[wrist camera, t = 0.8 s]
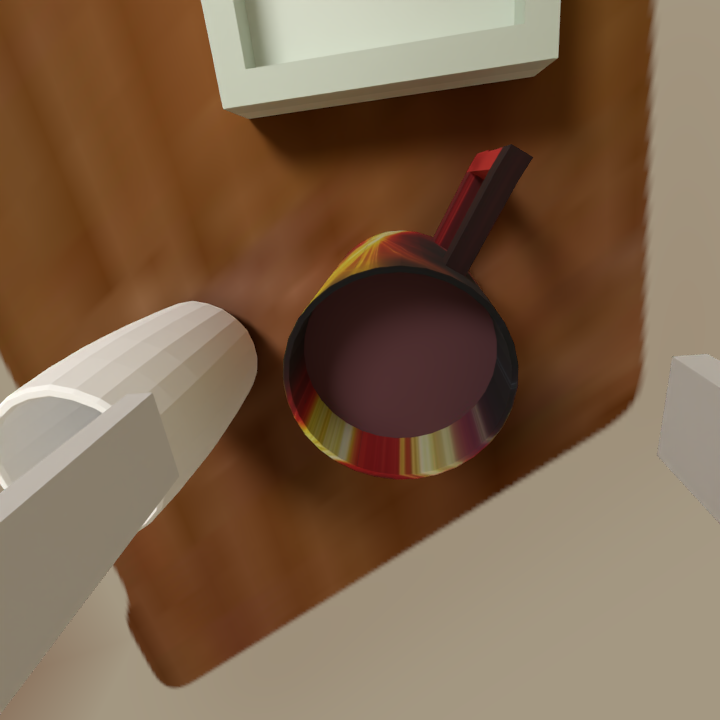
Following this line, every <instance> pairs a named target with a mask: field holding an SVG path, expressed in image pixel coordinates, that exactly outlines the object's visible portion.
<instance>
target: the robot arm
mask: <svg viewBox="0 0 720 720" xmlns="http://www.w3.org/2000/svg"><path fill="white" fill-rule="evenodd" d="M657 456H658V457H659V458H660V459H661V460H662V462H663V463H665V465H666V466H667V467H668V468H669V469H670V470H671V471H672V472H673V473H674V475H675V476H676V477H677V478H678V479H679V480H680V481H681V482H682V483H683V484H684V485H685V487H686V488H687V489H688V490H689V491H690V492H691V493H692V494H693V495H694V496H695V497H696V498H697V499H698V501H699V502H700V503H701V504H702V505H703V506H704V507H705V508H706V509H707V510H708V512H709V513H710V514H711V515H712V516H713V517H714V518H715V519H716V520H717V521H718V522H719V523H720V361H719V360H718V359H716V358H714V357H712V356H711V355H709V354H700V355H686V356H673V357H672V362H671V368H670V375H669V381H668V388H667V394H666V400H665V408H664V414H663V420H662V426H661V433H660V439H659V445H658V452H657ZM178 478H179V473H178V470H177V467H176V463H175V460H174V457H173V454H172V451H171V448H170V445H169V442H168V439H167V436H166V433H165V429H164V426H163V423H162V420H161V417H160V414H159V411H158V408H157V405H156V402H155V398H154V395H153V393H140V394H127V395H125V396H124V397H123V398H121V399H120V400H119V401H118V402H116V403H115V404H114V405H112V406H111V407H110V408H109V409H107V410H106V411H105V412H103V413H102V414H101V415H100V416H98V417H97V418H96V419H94V420H93V421H92V422H91V423H89V424H88V425H87V426H86V427H84V428H83V429H82V430H80V431H79V432H78V433H77V434H75V435H74V436H73V437H71V438H70V439H69V440H68V441H66V442H65V443H64V444H62V445H61V446H60V447H59V448H57V449H56V450H55V451H53V452H52V453H51V454H50V455H48V456H47V457H46V458H44V459H43V460H42V461H41V462H39V463H38V464H37V465H35V466H34V467H33V468H32V469H30V470H29V471H28V472H26V473H25V474H24V475H23V476H21V477H20V478H19V479H17V480H16V481H15V482H14V483H12V484H11V485H10V486H8V487H7V488H6V489H5V490H3V491H2V492H1V493H0V714H1V713H2V711H3V710H4V709H5V707H6V706H7V705H8V703H9V702H10V701H11V700H12V698H13V697H14V696H15V694H16V693H17V691H18V690H19V689H20V687H21V686H22V685H23V684H24V682H25V681H26V680H27V678H28V677H29V675H30V674H31V673H32V672H33V670H34V669H35V668H36V666H37V665H38V664H39V662H40V661H41V660H42V658H43V657H44V656H45V654H46V653H47V652H48V650H49V649H50V648H51V646H52V645H53V644H54V642H55V641H56V640H57V638H58V637H59V636H60V634H61V633H62V632H63V630H64V629H65V628H66V626H67V625H68V624H69V622H70V621H71V620H72V618H73V617H74V616H75V614H76V613H77V612H78V610H79V609H80V608H81V606H82V605H83V604H84V603H85V601H86V600H87V599H88V597H89V596H90V595H91V593H92V592H93V591H94V589H95V588H96V587H97V585H98V584H99V583H100V581H101V580H102V579H103V577H104V576H105V575H106V573H107V572H108V571H109V569H110V568H111V567H112V565H113V564H114V563H115V561H116V560H117V559H118V557H119V556H120V555H121V553H122V552H123V551H124V549H125V548H126V547H127V545H128V544H129V543H130V541H131V540H132V539H133V537H134V536H135V535H136V533H137V532H138V531H139V529H140V528H141V527H142V525H143V524H144V523H145V521H146V520H147V519H148V517H149V516H150V515H151V513H152V512H153V511H154V510H155V508H156V507H157V506H158V504H159V503H160V502H161V500H162V499H163V498H164V496H165V495H166V494H167V492H168V491H169V490H170V488H171V487H172V486H173V484H174V483H175V482H176V480H177V479H178Z"/></svg>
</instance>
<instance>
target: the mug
mask: <svg viewBox="0 0 720 720" xmlns="http://www.w3.org/2000/svg"><path fill="white" fill-rule="evenodd" d="M532 158H533V157H532V156H530V155H529V154H527V153H525V152H524V151H522V150H520V149H519V148H517V147H515V146H514V145H512V144H511V145H508V146H505V147H501V148H498V149H495V150H492V151H490V150H487V151H484V152H481V153H478V154H477V155H476V156H475V158H474V160H473V161H472V163H471V165H470V167H469V168H468V170H467V172H466V174H465V176H464V178H463V180H462V182H461V184H460V186H459V188H458V190H457V192H456V194H455V196H454V198H453V200H452V202H451V204H450V206H449V208H448V210H447V212H446V214H445V216H444V218H443V220H442V221H441V223H440V225H439V227H438V229H437V231H436V233H435V235H434V237H431V236H428V235H425V234H421V233H418V232H411V231H392V232H385V233H382V234H379V235H376V236H372V237H370V238H369V239H367V240H365V241H363V242H361V243H359V244H358V245H357V246H356V247H355V248H353V249H352V250H351V251H350V252H349V253H348V254H347V255H346V256H345V257H344V259H343V260H342V261H341V263H340V264H339V265H338V266H337V268H336V269H335V270H334V272H333V273H332V274H331V276H330V277H329V278H328V280H327V281H326V282H325V284H324V285H323V286H322V288H321V289H320V290H319V292H318V293H317V294H316V296H315V297H314V298H313V300H312V301H311V302H310V304H309V305H308V306H307V308H306V309H305V310H304V312H303V313H302V314H301V316H300V317H299V318H298V320H297V322H296V324H295V326H294V328H293V330H292V332H291V334H290V336H289V338H288V342H287V346H286V351H285V355H284V359H283V382H284V388H285V393H286V398H287V401H288V404H289V406H290V409H291V411H292V414H293V416H294V418H295V420H296V421H297V423H298V424H299V426H300V428H301V429H302V431H303V432H304V434H305V435H306V436H307V437H308V438H309V439H310V440H311V441H312V442H313V443H314V444H315V445H316V446H317V447H318V449H319V450H321V451H322V452H324V453H325V454H326V455H328V456H329V457H330V458H332V459H333V460H335V461H336V462H338V463H340V464H342V465H344V466H346V467H348V468H350V469H352V470H354V471H357V472H361V473H364V474H367V475H371V476H374V477H381V478H389V479H417V478H422V477H427V476H432V475H437V474H440V473H442V472H445V471H448V470H450V469H453V468H456V467H458V466H459V465H461V464H463V463H464V462H466V461H468V460H469V459H471V458H473V457H474V456H476V455H477V454H478V453H479V452H480V451H481V450H482V449H484V448H485V447H486V446H487V445H488V444H489V443H490V442H491V441H492V440H493V439H494V437H495V436H496V435H497V433H498V432H499V431H500V430H501V428H502V427H503V426H504V424H505V422H506V419H507V417H508V415H509V413H510V411H511V409H512V407H513V403H514V400H515V396H516V392H517V388H518V361H517V356H516V351H515V346H514V342H513V340H512V338H511V336H510V333H509V331H508V329H507V327H506V324H505V322H504V321H503V320H502V318H501V317H500V315H499V314H498V312H497V311H496V310H495V308H494V307H493V305H492V304H491V303H490V301H489V300H488V298H487V297H486V295H485V294H484V293H483V291H482V290H481V288H480V287H479V286H478V284H477V283H476V281H475V280H474V278H473V277H472V276H471V274H470V273H469V271H468V270H469V269H470V267H471V265H472V263H473V261H474V260H475V258H476V256H477V254H478V252H479V251H480V249H481V247H482V245H483V243H484V242H485V240H486V238H487V236H488V234H489V233H490V231H491V229H492V227H493V225H494V224H495V222H496V220H497V218H498V216H499V215H500V213H501V211H502V209H503V207H504V206H505V204H506V202H507V200H508V198H509V197H510V195H511V193H512V191H513V189H514V188H515V186H516V184H517V182H518V180H519V179H520V177H521V176H522V174H523V172H524V171H525V169H526V168H527V166H528V164H529V163H530V161H531V160H532Z"/></svg>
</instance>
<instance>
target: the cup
mask: <svg viewBox="0 0 720 720" xmlns="http://www.w3.org/2000/svg"><path fill="white" fill-rule="evenodd" d="M256 373H257V354H256V350H255V346H254V343H253V341H252V339H251V337H250V335H249V333H248V331H247V329H246V328H245V327H244V326H243V325H242V324H241V323H240V322H239V321H238V320H237V319H236V318H234V317H233V316H232V315H230V314H229V313H227V312H226V311H225V310H223V309H221V308H218V307H216V306H213V305H211V304H208V303H202V302H196V301H190V302H184V303H179V304H176V305H173V306H171V307H168V308H166V309H163V310H161V311H159V312H156V313H154V314H152V315H149V316H147V317H145V318H142V319H140V320H138V321H136V322H133V323H131V324H129V325H127V326H125V327H123V328H121V329H119V330H117V331H114V332H112V333H110V334H108V335H106V336H104V337H102V338H100V339H99V340H97V341H95V342H93V343H91V344H89V345H87V346H85V347H83V348H81V349H80V350H78V351H76V352H75V353H73V354H71V355H70V356H68V357H66V358H65V359H63V360H61V361H60V362H58V363H56V364H55V365H53V366H51V367H50V368H48V369H47V370H45V371H44V372H42V373H41V374H39V375H38V376H36V377H35V378H34V379H32V380H31V381H29V382H28V383H26V384H25V385H23V386H22V387H20V388H19V389H18V390H16V391H15V392H13V393H12V394H10V395H9V396H8V397H7V398H6V399H5V400H4V401H3V402H2V403H1V404H0V484H1V486H2V487H3V488H4V490H5V489H6V488H7V487H8V486H10V485H11V484H12V483H14V482H15V481H16V480H17V479H19V478H20V477H21V476H23V475H24V474H25V473H26V472H28V471H29V470H30V469H32V468H33V467H34V466H35V465H37V464H38V463H39V462H41V461H42V460H43V459H44V458H46V457H47V456H48V455H50V454H51V453H52V452H53V451H55V450H56V449H57V448H59V447H60V446H61V445H62V444H64V443H65V442H66V441H68V440H69V439H70V438H71V437H73V436H74V435H75V434H77V433H78V432H79V431H80V430H82V429H83V428H84V427H86V426H87V425H88V424H89V423H91V422H92V421H93V420H94V419H96V418H97V417H98V416H100V415H101V414H102V413H103V412H105V411H106V410H107V409H109V408H110V407H111V406H112V405H114V404H115V403H116V402H118V401H119V400H120V399H121V398H123V397H124V396H125V395H127V394H140V393H153V395H154V398H155V402H156V405H157V408H158V411H159V414H160V417H161V420H162V423H163V426H164V429H165V433H166V436H167V439H168V442H169V445H170V448H171V451H172V454H173V457H174V460H175V463H176V467H177V470H178V473H179V478H178V479H177V480H176V482H175V483H174V484H173V486H172V487H171V488H170V490H169V491H168V492H167V494H166V495H165V496H164V498H163V499H162V500H161V502H160V503H159V504H158V506H157V507H156V508H155V510H154V511H153V512H152V513H151V515H150V516H149V517H148V519H147V520H146V521H145V523H144V524H143V525H142V527H141V528H140V529H139V531H140V530H141V529H142V528H144V527H145V526H147V525H148V524H150V523H151V522H152V521H153V520H154V519H155V518H156V516H157V515H158V514H159V513H160V512H161V511H162V510H163V509H164V507H165V506H166V505H167V504H168V503H169V502H170V501H171V500H172V499H173V497H174V496H175V495H176V494H177V493H178V492H179V491H180V490H181V488H182V487H183V486H184V485H185V483H186V482H187V481H188V480H189V478H190V477H191V476H192V475H193V473H194V472H195V471H196V470H197V468H198V467H199V466H200V465H201V463H202V462H203V461H204V460H205V458H206V457H207V456H208V455H209V453H210V452H211V451H212V449H213V448H214V447H215V445H216V444H217V442H218V441H219V439H220V438H221V436H222V435H223V434H224V432H225V431H226V429H227V428H228V426H229V425H230V423H231V421H232V420H233V418H234V417H235V415H236V414H237V412H238V410H239V409H240V407H241V405H242V404H243V402H244V400H245V399H246V397H247V395H248V393H249V391H250V389H251V388H252V386H253V384H254V380H255V377H256Z"/></svg>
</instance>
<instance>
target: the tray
mask: <svg viewBox="0 0 720 720" xmlns="http://www.w3.org/2000/svg"><path fill="white" fill-rule="evenodd" d="M201 2H202V7H203V12H204V17H205V22H206V27H207V32H208V37H209V42H210V47H211V52H212V57H213V62H214V66H215V71H216V76H217V81H218V86H219V91H220V96H221V101H222V106H223V109H224V110H227V111H230V112H232V113H235V114H237V115H240V116H242V117H245V118H248V119H252V118H259V117H266V116H273V115H279V114H286V113H293V112H299V111H306V110H313V109H319V108H326V107H333V106H340V105H346V104H353V103H360V102H366V101H373V100H380V99H387V98H393V97H400V96H407V95H413V94H420V93H427V92H434V91H440V90H447V89H454V88H460V87H467V86H474V85H481V84H487V83H494V82H501V81H507V80H514V79H521V78H528V77H534V76H535V75H537V74H538V73H539V72H541V71H542V70H543V69H544V68H546V67H547V66H548V65H549V64H551V63H552V62H553V61H555V60H556V59H557V58H558V52H559V28H560V5H561V0H201Z"/></svg>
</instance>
